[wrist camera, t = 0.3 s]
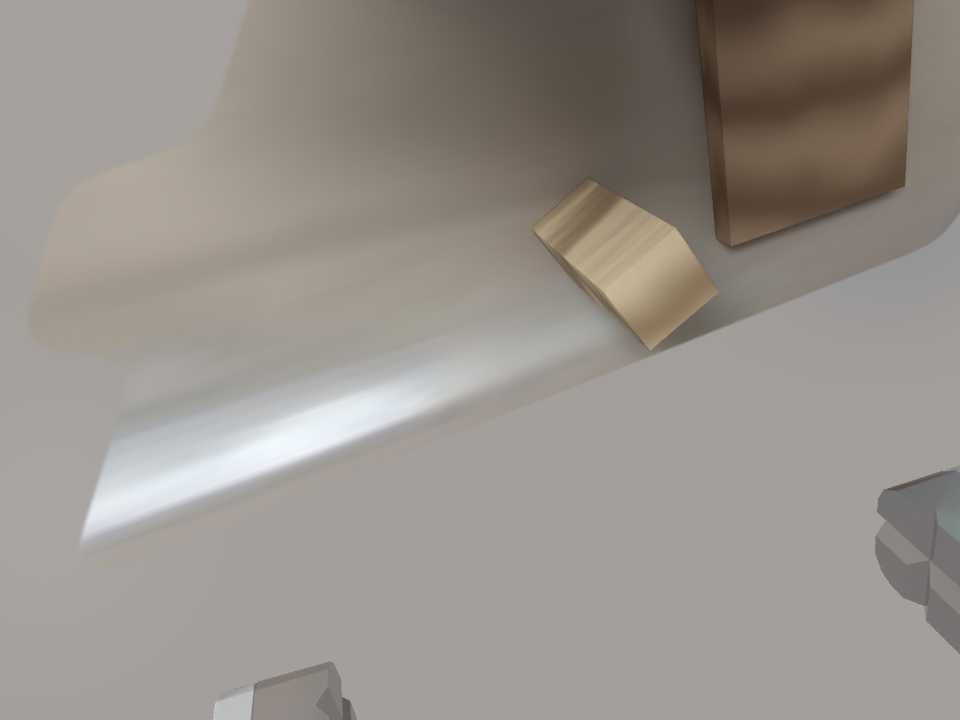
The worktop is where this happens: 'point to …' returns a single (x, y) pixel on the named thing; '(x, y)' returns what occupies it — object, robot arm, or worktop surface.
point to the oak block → (626, 261)
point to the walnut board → (802, 107)
